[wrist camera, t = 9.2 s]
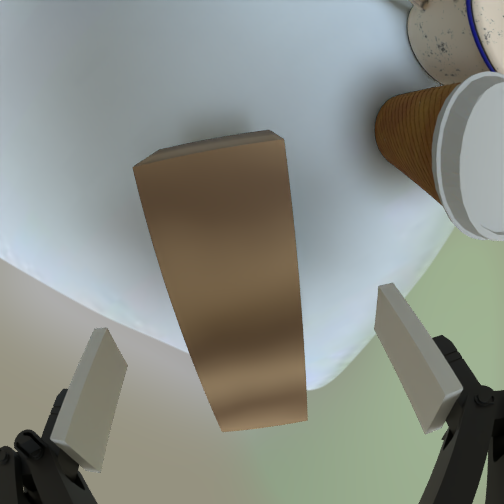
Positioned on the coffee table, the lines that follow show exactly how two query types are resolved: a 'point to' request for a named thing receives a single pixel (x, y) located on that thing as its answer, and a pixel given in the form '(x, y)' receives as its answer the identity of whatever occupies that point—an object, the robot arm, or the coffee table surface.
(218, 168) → the batten
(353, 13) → the coffee table surface
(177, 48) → the coffee table surface
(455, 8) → the teacup with lid
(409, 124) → the disposable coffee cup
